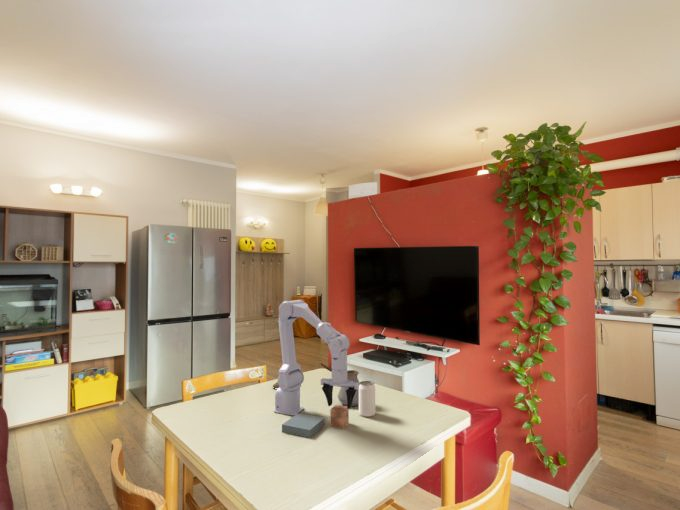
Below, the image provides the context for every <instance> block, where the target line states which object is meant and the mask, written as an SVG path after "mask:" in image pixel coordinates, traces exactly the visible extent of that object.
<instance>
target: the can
mask: <svg viewBox="0 0 680 510" xmlns="http://www.w3.org/2000/svg"><path fill="white" fill-rule="evenodd" d="M359 383H360V385H359V405H358V414H359V416H361V417H364V418H370V417H374V416H375V415H376V386H375V382H374V381H373V380H372V381H371V380H361V381H359Z"/></svg>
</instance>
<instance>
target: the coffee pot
mask: <svg viewBox="0 0 680 510" xmlns="http://www.w3.org/2000/svg"><path fill="white" fill-rule="evenodd" d="M321 367H323V368H325V369H326V370H327V371H329V372H331V373H332V367H329V366H327V365H326V364H323V363H320V364H319V365H318V368H321ZM359 372H360V371H358V370H355V369H353V370H351V369H349V370H348V369H347V380H349V381H353V382H357V383H359V385H360V381H359V378H358V375H359V374H360V373H359ZM347 389H349V388H346V387H340V389H339V391H338V394H337V398H338V401H339V402H340V403H341V404H342V406H347V394H346V390H347ZM357 406H359V388H358V389H357V390H356V393H355V395H354V398H353V401H352V406H351V407H357Z"/></svg>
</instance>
